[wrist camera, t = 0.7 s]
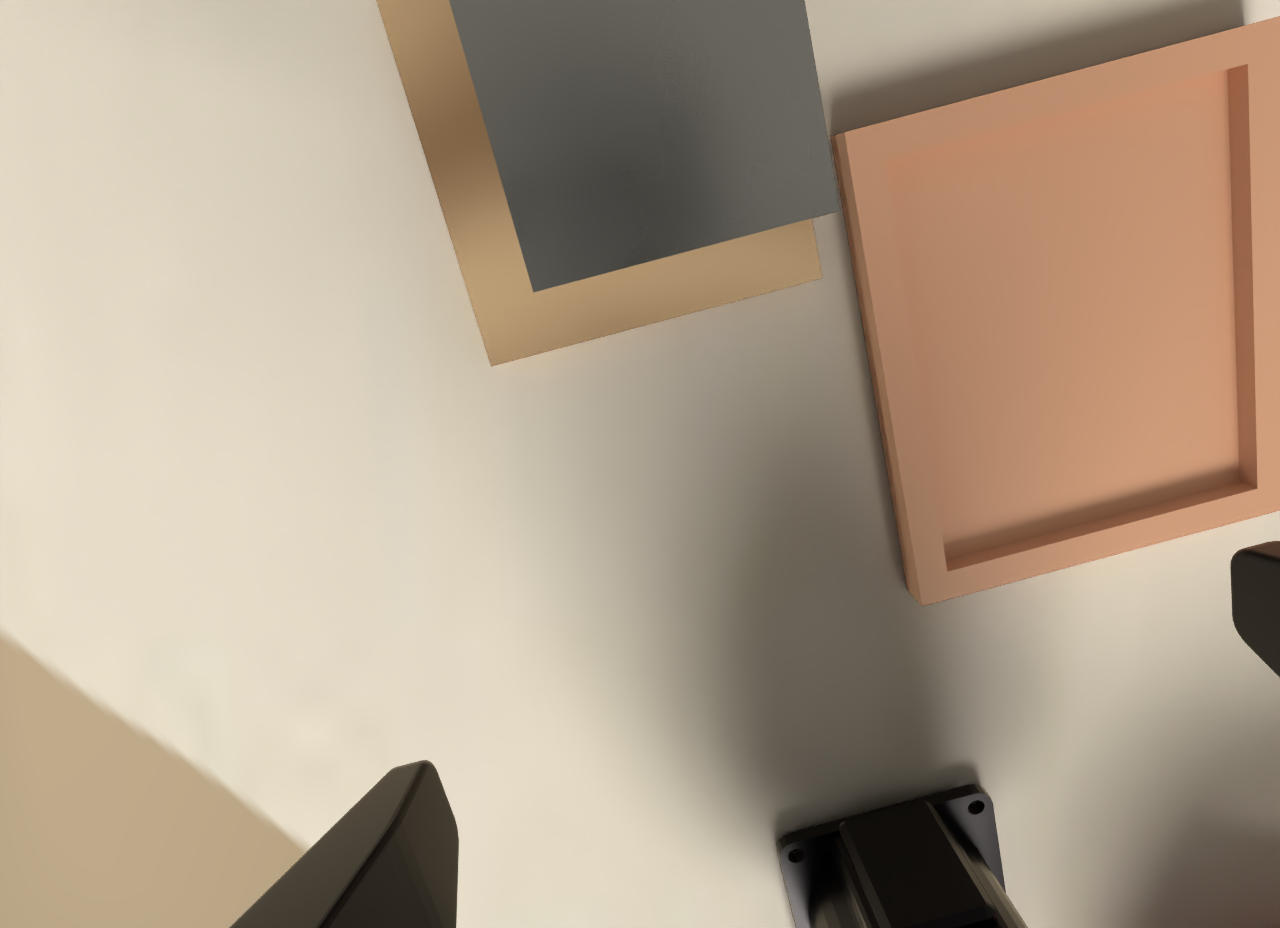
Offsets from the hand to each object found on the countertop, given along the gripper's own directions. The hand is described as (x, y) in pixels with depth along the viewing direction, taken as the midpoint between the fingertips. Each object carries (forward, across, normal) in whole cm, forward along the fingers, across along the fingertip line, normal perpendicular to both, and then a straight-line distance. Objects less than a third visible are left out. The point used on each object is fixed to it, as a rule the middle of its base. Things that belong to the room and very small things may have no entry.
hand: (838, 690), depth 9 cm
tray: (+12, -10, 0) cm, 16 cm away
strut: (+10, 0, -7) cm, 12 cm away
